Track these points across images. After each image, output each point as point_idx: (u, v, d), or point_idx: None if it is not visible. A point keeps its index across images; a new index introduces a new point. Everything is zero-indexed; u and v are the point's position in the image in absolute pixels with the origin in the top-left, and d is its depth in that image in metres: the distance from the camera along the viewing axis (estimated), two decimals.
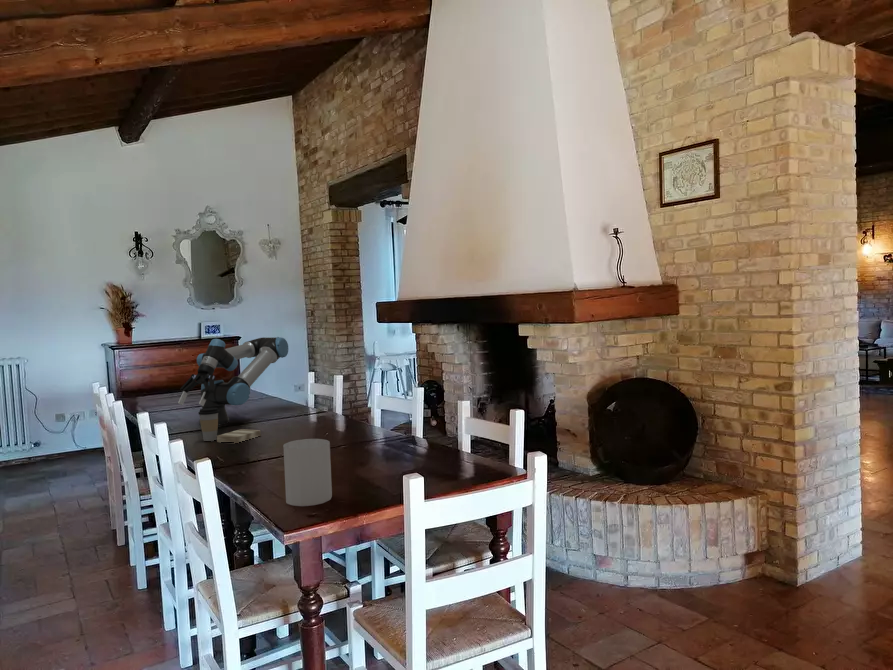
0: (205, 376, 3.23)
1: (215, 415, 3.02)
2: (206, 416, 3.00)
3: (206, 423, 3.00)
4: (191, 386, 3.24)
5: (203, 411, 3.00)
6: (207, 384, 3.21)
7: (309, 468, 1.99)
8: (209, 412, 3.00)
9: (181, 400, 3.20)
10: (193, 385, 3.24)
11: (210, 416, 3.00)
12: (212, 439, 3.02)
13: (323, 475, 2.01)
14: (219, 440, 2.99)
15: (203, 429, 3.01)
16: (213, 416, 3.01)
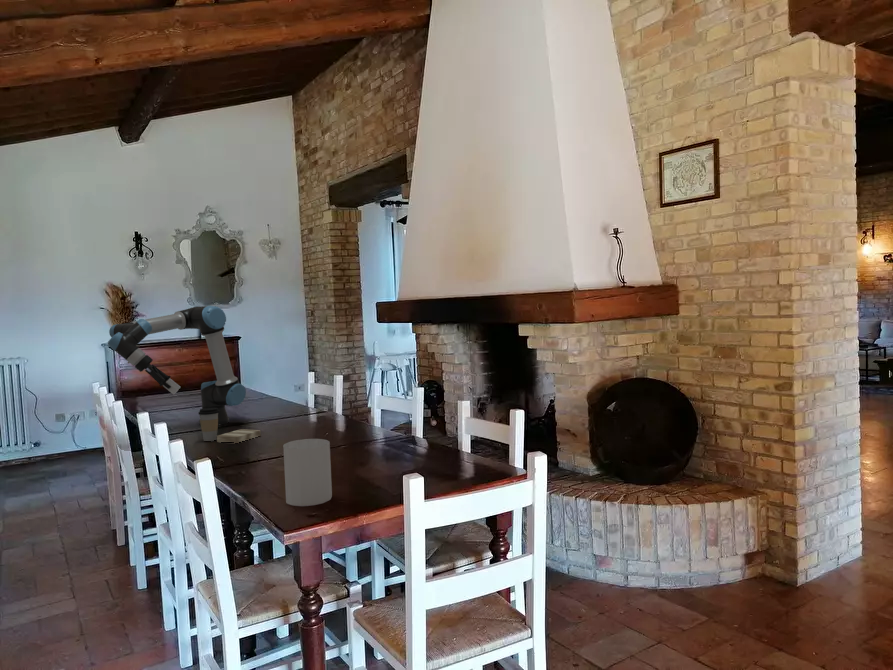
0: None
1: (215, 415, 3.02)
2: (206, 416, 3.00)
3: (206, 423, 3.00)
4: (161, 376, 3.01)
5: (203, 411, 3.00)
6: None
7: (309, 468, 1.99)
8: (209, 412, 3.00)
9: (174, 387, 3.04)
10: (160, 374, 3.00)
11: (210, 416, 3.00)
12: (212, 439, 3.02)
13: (323, 476, 2.01)
14: (219, 440, 2.99)
15: (203, 429, 3.01)
16: (213, 416, 3.01)
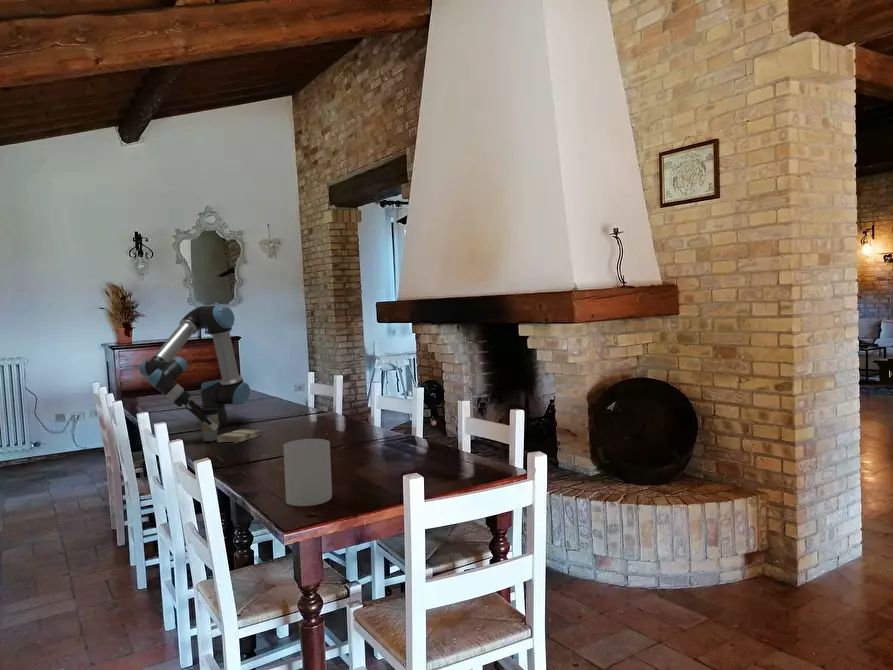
0: None
1: (215, 415, 3.01)
2: (206, 416, 2.99)
3: None
4: None
5: (203, 411, 2.99)
6: None
7: (309, 468, 1.99)
8: (209, 412, 2.99)
9: None
10: (198, 409, 3.04)
11: (210, 416, 3.00)
12: (212, 439, 3.02)
13: (323, 475, 2.01)
14: (219, 440, 2.99)
15: (203, 429, 3.00)
16: (213, 416, 3.00)
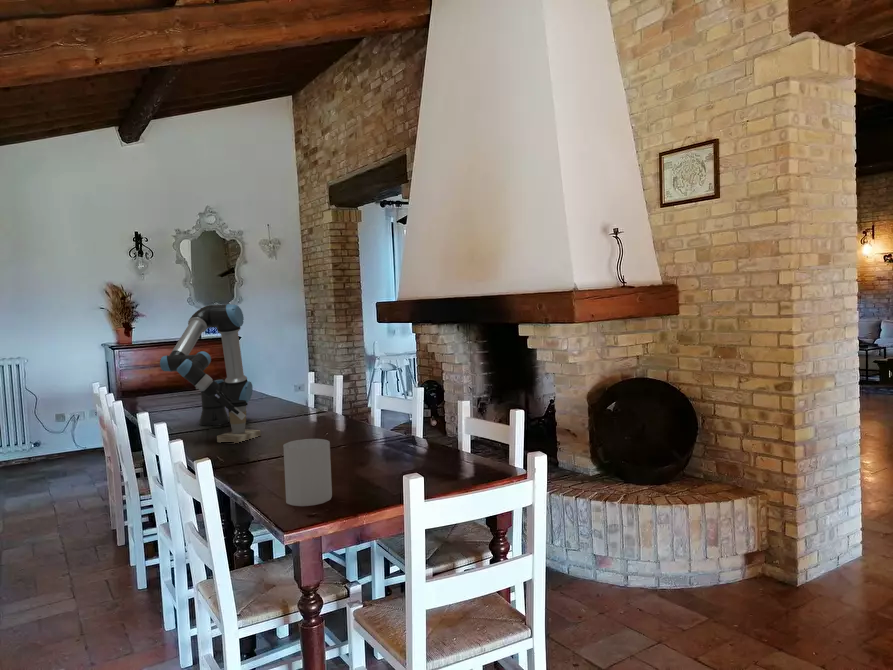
0: None
1: (244, 407, 3.02)
2: None
3: (235, 415, 3.00)
4: (227, 400, 3.06)
5: (232, 403, 3.00)
6: None
7: (309, 468, 1.99)
8: (238, 404, 3.00)
9: None
10: (226, 399, 3.05)
11: (239, 408, 3.00)
12: (241, 431, 3.02)
13: (323, 475, 2.01)
14: (219, 440, 2.99)
15: (232, 421, 3.01)
16: (242, 408, 3.01)
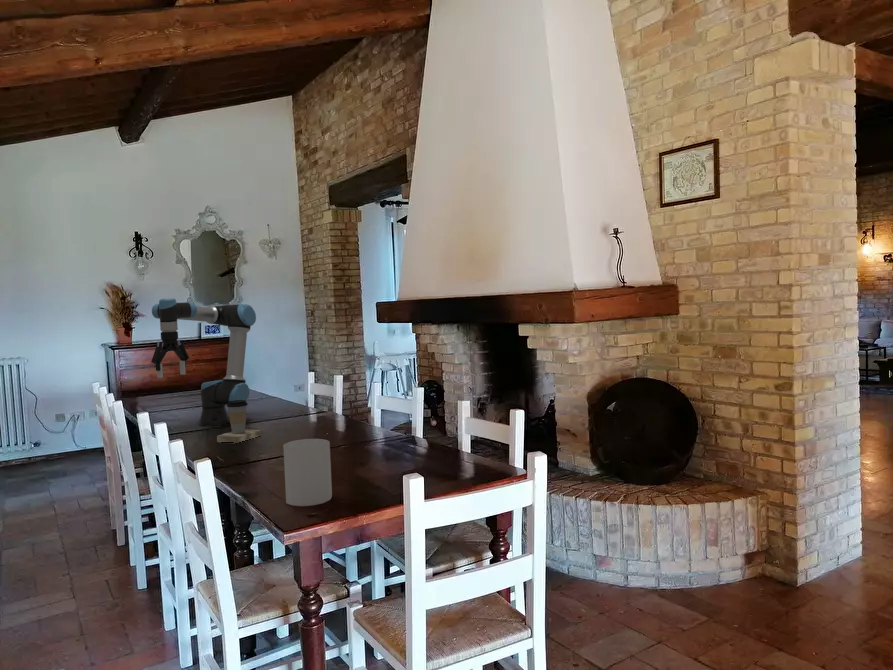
0: None
1: (244, 407, 3.02)
2: (235, 408, 3.00)
3: (235, 415, 3.00)
4: (178, 354, 3.10)
5: (232, 403, 3.00)
6: (161, 353, 3.01)
7: (309, 468, 1.99)
8: (238, 404, 3.00)
9: (181, 370, 3.12)
10: (177, 352, 3.09)
11: (239, 408, 3.00)
12: (241, 431, 3.02)
13: (323, 475, 2.01)
14: (219, 440, 2.99)
15: (232, 421, 3.01)
16: (242, 408, 3.01)
